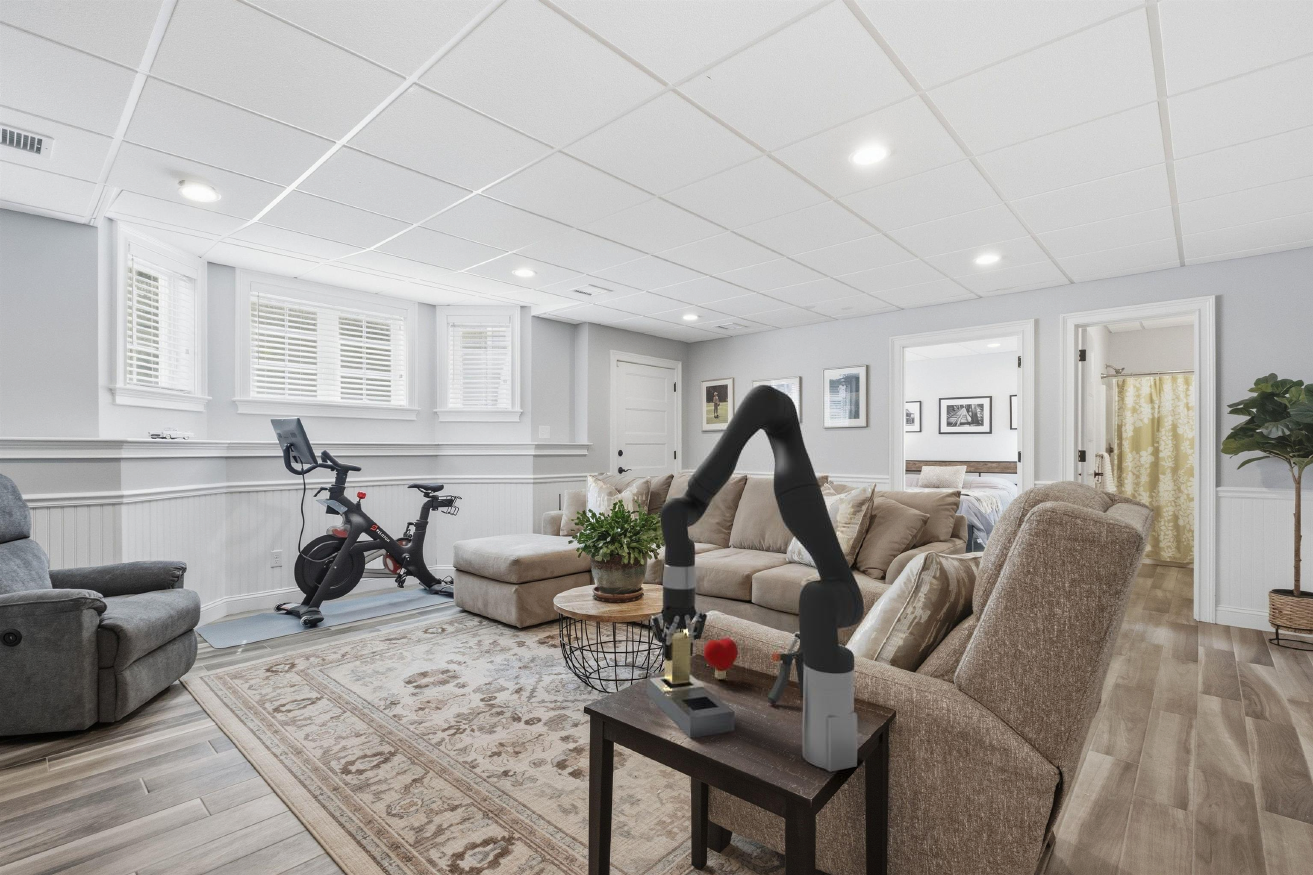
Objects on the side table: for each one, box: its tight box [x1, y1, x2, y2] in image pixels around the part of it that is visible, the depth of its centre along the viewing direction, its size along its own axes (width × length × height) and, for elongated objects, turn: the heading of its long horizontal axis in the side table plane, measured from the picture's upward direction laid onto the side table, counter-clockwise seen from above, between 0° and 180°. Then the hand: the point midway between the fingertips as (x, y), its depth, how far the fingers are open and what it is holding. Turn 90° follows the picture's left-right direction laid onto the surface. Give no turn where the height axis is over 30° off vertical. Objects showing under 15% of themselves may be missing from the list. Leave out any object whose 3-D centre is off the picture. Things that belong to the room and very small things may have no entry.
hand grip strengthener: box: [766, 632, 804, 706], centre depth 143 cm, size 2×13×15 cm, turn 123°
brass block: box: [664, 632, 691, 684], centre depth 142 cm, size 4×4×10 cm
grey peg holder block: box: [646, 674, 736, 739], centre depth 136 cm, size 24×10×4 cm, turn 22°
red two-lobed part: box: [703, 637, 739, 681], centre depth 156 cm, size 9×7×10 cm
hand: (677, 658), depth 142 cm, fingers closed on brass block, 4 cm apart
